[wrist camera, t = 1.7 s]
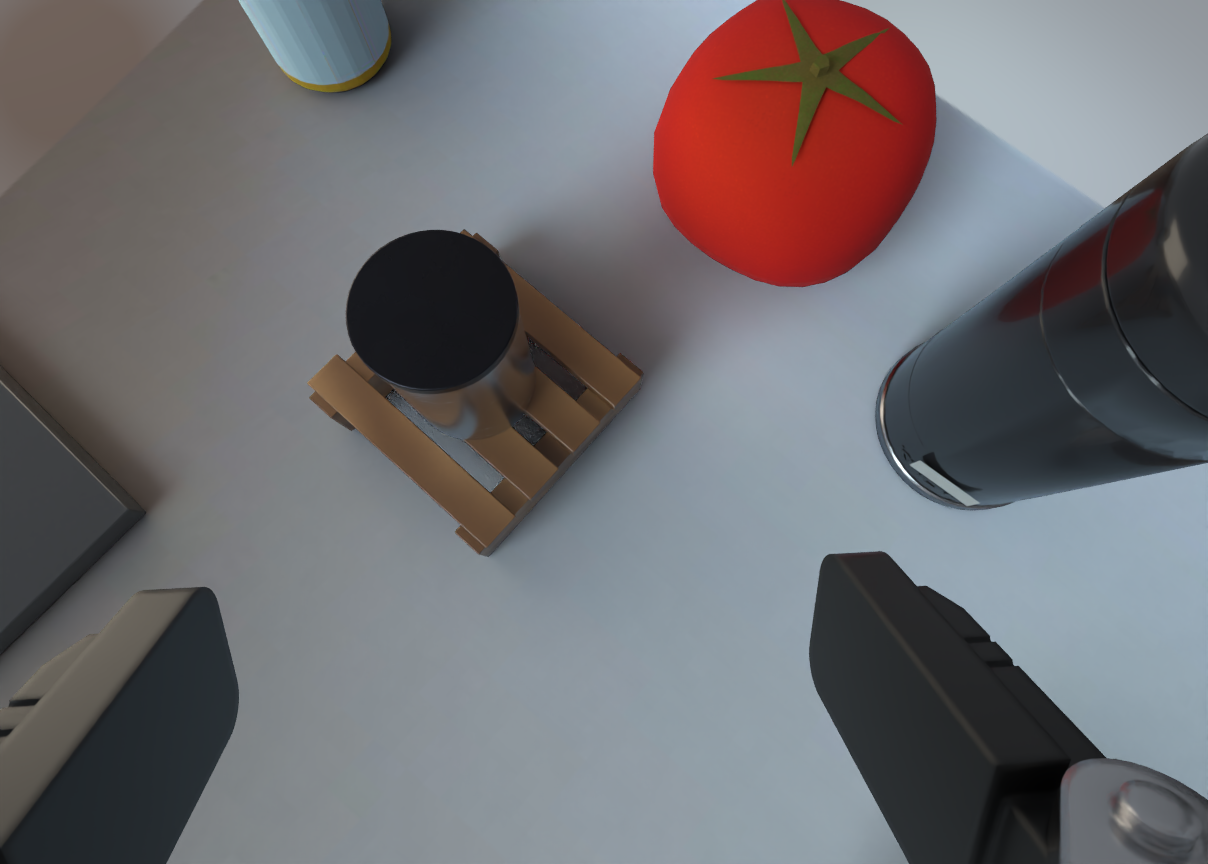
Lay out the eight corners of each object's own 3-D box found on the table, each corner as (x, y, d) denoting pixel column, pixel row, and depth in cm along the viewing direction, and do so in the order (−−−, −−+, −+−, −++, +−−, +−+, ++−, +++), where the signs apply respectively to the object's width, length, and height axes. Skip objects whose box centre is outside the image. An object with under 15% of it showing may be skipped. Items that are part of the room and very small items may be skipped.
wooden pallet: (482, 256, 39) (470, 221, 36) (643, 391, 38) (648, 370, 34) (328, 409, 37) (298, 390, 34) (491, 559, 36) (478, 556, 32)
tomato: (911, 162, 41) (1032, -2, 30) (815, 356, 38) (908, 258, 27) (716, 72, 42) (760, -119, 31) (610, 254, 39) (615, 119, 28)
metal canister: (472, 296, 35) (430, 197, 26) (564, 375, 34) (553, 300, 25) (384, 385, 34) (308, 314, 25) (476, 469, 33) (432, 425, 24)
